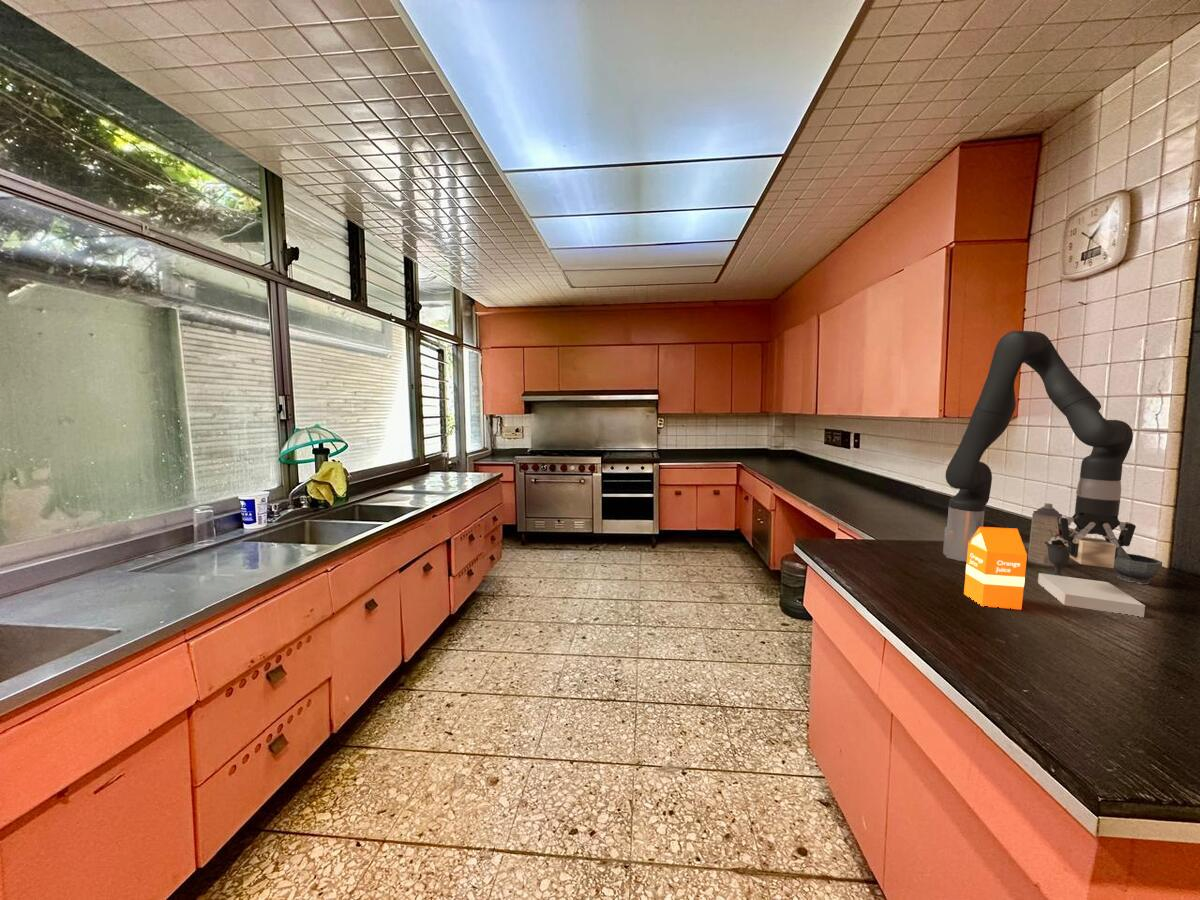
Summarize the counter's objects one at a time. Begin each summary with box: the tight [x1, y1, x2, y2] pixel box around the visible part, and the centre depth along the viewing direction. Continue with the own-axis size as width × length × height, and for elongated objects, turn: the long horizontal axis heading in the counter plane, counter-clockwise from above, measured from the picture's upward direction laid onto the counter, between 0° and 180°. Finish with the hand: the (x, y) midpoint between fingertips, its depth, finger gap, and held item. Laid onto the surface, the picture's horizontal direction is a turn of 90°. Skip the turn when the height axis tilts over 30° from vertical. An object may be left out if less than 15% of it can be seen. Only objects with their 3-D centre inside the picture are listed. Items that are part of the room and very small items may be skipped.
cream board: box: [1037, 572, 1146, 618], centre depth 115 cm, size 14×16×3 cm
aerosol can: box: [1027, 502, 1063, 568], centre depth 140 cm, size 7×7×20 cm
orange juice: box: [963, 526, 1028, 610], centre depth 113 cm, size 8×9×20 cm
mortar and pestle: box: [1112, 537, 1163, 583], centre depth 127 cm, size 11×9×12 cm
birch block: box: [1069, 536, 1116, 569], centre depth 114 cm, size 6×6×6 cm
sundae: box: [1044, 533, 1071, 576], centre depth 129 cm, size 7×7×15 cm
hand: (1091, 558), depth 114 cm, fingers closed on birch block, 6 cm apart
